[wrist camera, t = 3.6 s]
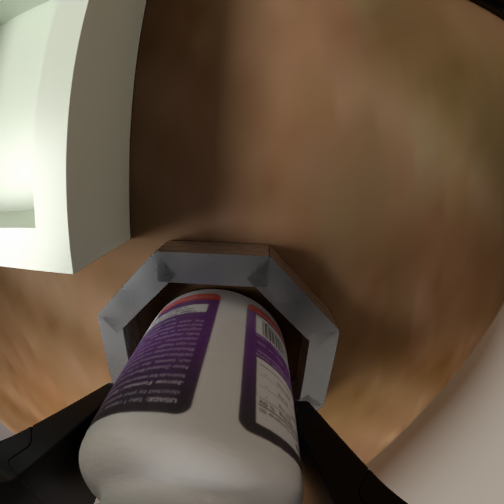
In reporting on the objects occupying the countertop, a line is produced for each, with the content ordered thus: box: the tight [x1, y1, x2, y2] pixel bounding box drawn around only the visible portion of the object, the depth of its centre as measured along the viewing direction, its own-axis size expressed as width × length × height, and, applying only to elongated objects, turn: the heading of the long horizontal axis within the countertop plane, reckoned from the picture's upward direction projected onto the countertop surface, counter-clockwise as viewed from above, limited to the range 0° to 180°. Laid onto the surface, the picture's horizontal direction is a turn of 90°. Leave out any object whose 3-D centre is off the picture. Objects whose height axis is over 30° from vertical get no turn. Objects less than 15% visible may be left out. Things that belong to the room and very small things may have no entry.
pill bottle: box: [79, 289, 304, 504], centre depth 7 cm, size 5×5×10 cm
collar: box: [98, 240, 339, 410], centre depth 11 cm, size 9×9×2 cm
